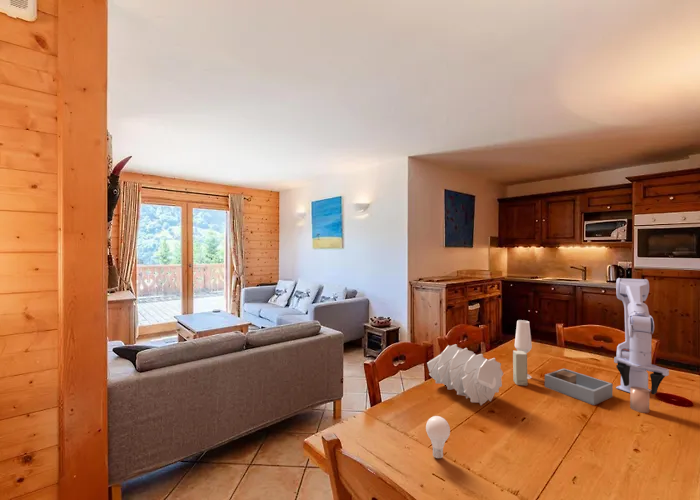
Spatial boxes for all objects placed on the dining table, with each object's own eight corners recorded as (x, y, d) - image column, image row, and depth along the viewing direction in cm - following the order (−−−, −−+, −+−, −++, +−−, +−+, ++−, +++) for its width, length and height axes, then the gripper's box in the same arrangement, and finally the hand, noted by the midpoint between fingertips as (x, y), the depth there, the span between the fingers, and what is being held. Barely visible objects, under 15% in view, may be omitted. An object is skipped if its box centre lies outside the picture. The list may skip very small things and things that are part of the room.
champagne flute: (532, 374, 146) (532, 320, 145) (531, 380, 140) (531, 323, 140) (515, 371, 149) (515, 318, 149) (513, 376, 144) (513, 321, 143)
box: (527, 386, 134) (528, 354, 134) (516, 385, 135) (516, 354, 135) (523, 380, 140) (523, 350, 139) (512, 380, 140) (512, 349, 140)
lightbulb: (422, 450, 93) (422, 412, 93) (444, 449, 93) (444, 411, 93) (430, 465, 86) (430, 424, 86) (453, 464, 87) (453, 423, 87)
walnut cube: (576, 387, 132) (576, 374, 132) (569, 389, 130) (569, 377, 129) (563, 382, 136) (563, 370, 136) (556, 385, 134) (556, 372, 134)
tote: (563, 380, 140) (563, 368, 140) (612, 396, 125) (612, 383, 125) (544, 386, 134) (544, 374, 134) (593, 405, 118) (593, 391, 118)
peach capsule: (634, 404, 119) (634, 385, 119) (651, 410, 114) (652, 390, 114) (627, 407, 116) (627, 388, 116) (645, 414, 112) (645, 393, 112)
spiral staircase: (449, 390, 140) (502, 413, 118) (420, 380, 132) (470, 402, 111) (461, 348, 144) (514, 363, 122) (433, 335, 137) (484, 349, 115)
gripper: (610, 346, 119) (609, 384, 120) (662, 358, 107) (662, 400, 107) (619, 343, 123) (619, 380, 123) (671, 355, 110) (671, 395, 110)
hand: (639, 389), depth 115 cm, fingers open, 7 cm apart
